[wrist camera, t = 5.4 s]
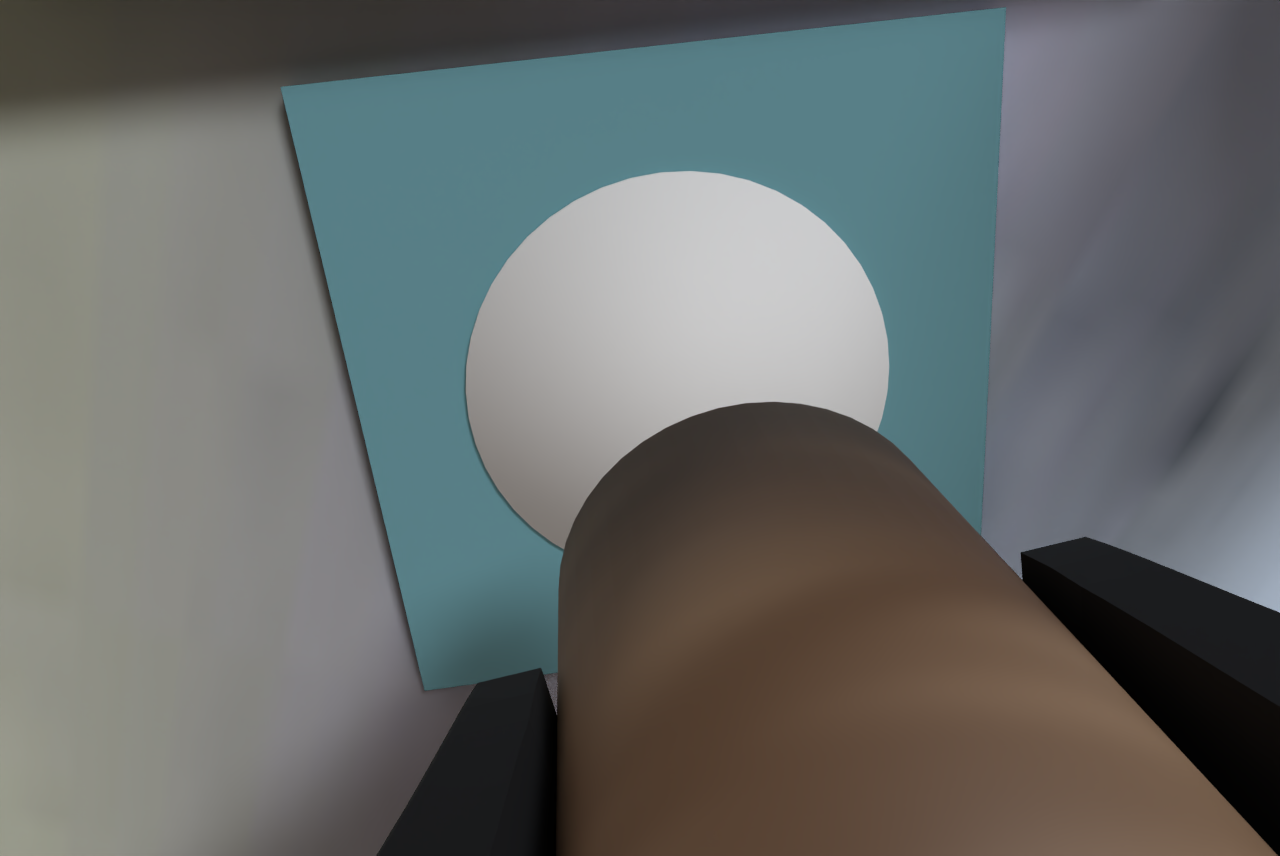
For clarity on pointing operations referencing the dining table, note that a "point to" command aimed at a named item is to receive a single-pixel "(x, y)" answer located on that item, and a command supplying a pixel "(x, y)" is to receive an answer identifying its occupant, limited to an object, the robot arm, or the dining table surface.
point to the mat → (645, 280)
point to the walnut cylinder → (835, 670)
